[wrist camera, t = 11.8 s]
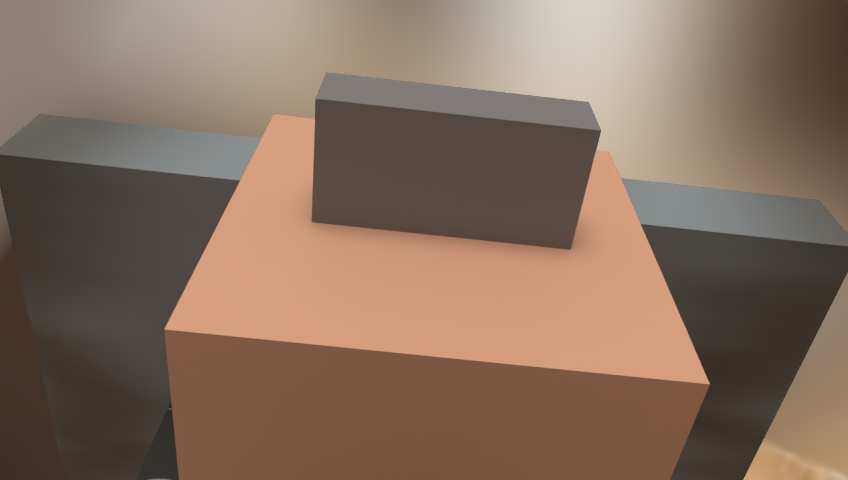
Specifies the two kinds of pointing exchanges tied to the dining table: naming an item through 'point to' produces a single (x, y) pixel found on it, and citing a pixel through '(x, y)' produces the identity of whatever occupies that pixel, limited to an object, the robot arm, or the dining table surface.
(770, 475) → the dining table surface
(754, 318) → the grey brown l-shaped block
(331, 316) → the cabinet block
